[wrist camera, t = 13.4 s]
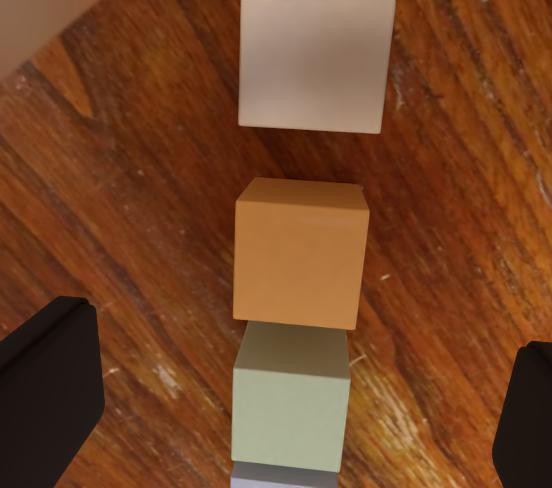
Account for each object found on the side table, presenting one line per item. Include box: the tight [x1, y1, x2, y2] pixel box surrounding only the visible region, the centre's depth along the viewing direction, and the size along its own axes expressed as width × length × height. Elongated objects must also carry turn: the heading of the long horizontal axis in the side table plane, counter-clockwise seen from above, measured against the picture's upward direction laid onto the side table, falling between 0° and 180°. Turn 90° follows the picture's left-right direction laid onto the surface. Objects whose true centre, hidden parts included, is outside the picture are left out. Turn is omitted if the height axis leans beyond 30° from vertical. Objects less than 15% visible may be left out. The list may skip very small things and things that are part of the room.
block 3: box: [230, 461, 338, 488], centre depth 24 cm, size 5×5×5 cm
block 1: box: [238, 0, 396, 134], centre depth 17 cm, size 5×5×5 cm
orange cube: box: [233, 177, 370, 330], centre depth 20 cm, size 5×5×5 cm
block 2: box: [231, 320, 351, 472], centre depth 22 cm, size 5×5×5 cm
